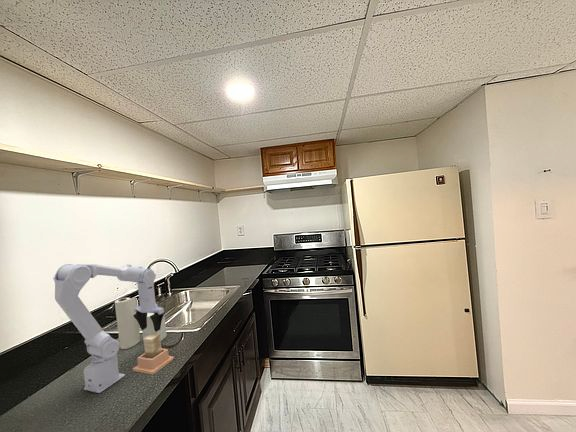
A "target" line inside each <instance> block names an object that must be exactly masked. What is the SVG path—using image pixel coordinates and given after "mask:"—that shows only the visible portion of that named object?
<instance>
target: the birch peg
mask: <svg viewBox="0 0 576 432" xmlns="http://www.w3.org/2000/svg"><path fill="white" fill-rule="evenodd" d="M143 347H144V353H145V356H146V358H150V359H153V358H154V357H156V356H157V355H159V354H160V353H162V349H163V348H162V341H161V340H160V335H159V334H151V335H149V336H147V337H146V338H144V341H143ZM161 348H162V349H161Z"/></svg>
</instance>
